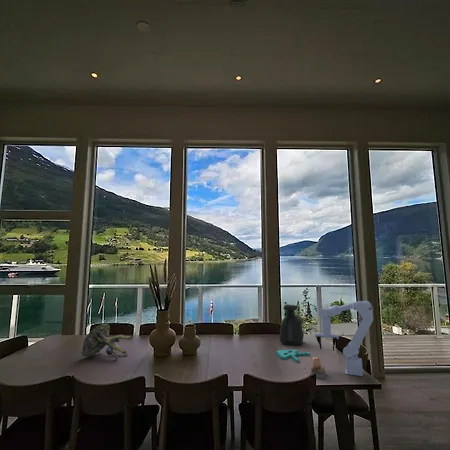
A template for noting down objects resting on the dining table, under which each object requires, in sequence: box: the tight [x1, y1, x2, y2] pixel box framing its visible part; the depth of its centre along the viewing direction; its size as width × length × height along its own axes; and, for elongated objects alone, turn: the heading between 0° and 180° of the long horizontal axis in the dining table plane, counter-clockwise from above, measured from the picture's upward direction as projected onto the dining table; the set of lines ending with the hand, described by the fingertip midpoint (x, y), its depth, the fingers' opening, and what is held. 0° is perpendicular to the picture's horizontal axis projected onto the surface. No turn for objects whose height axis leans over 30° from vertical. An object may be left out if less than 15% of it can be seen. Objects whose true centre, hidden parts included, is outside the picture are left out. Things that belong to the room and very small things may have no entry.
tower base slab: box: [309, 369, 327, 379], centre depth 171 cm, size 8×8×2 cm
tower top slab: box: [310, 365, 325, 374], centre depth 171 cm, size 6×6×2 cm
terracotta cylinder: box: [312, 356, 322, 368], centre depth 172 cm, size 4×4×5 cm
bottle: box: [278, 304, 304, 346], centre depth 244 cm, size 18×16×30 cm
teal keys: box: [275, 349, 311, 363], centre depth 207 cm, size 20×2×20 cm
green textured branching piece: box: [81, 323, 132, 361], centre depth 209 cm, size 23×26×35 cm
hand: (327, 349), depth 186 cm, fingers open, 7 cm apart
